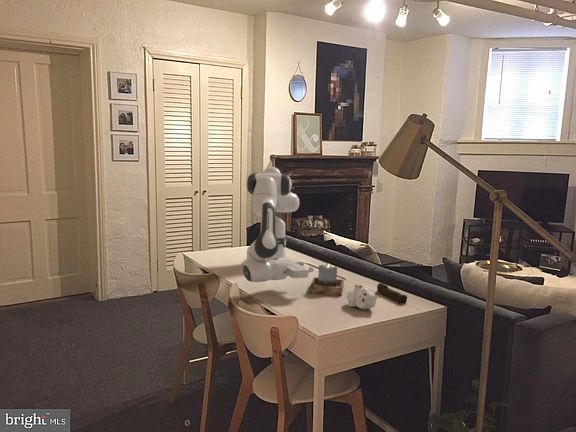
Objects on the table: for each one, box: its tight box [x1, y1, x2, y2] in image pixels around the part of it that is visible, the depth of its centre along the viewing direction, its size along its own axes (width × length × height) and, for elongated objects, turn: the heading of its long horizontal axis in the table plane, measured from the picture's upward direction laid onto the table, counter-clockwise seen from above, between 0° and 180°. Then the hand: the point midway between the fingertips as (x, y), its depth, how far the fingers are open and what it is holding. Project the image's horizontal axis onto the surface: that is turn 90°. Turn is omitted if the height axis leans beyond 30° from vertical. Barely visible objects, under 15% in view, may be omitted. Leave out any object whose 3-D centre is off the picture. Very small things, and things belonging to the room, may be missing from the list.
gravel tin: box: [317, 263, 338, 287], centre depth 217 cm, size 6×6×11 cm
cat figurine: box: [346, 284, 379, 310], centre depth 194 cm, size 10×8×15 cm
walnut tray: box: [309, 277, 345, 297], centre depth 217 cm, size 14×14×4 cm
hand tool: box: [376, 282, 408, 304], centre depth 210 cm, size 19×4×5 cm, turn 22°
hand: (307, 266), depth 216 cm, fingers open, 8 cm apart
